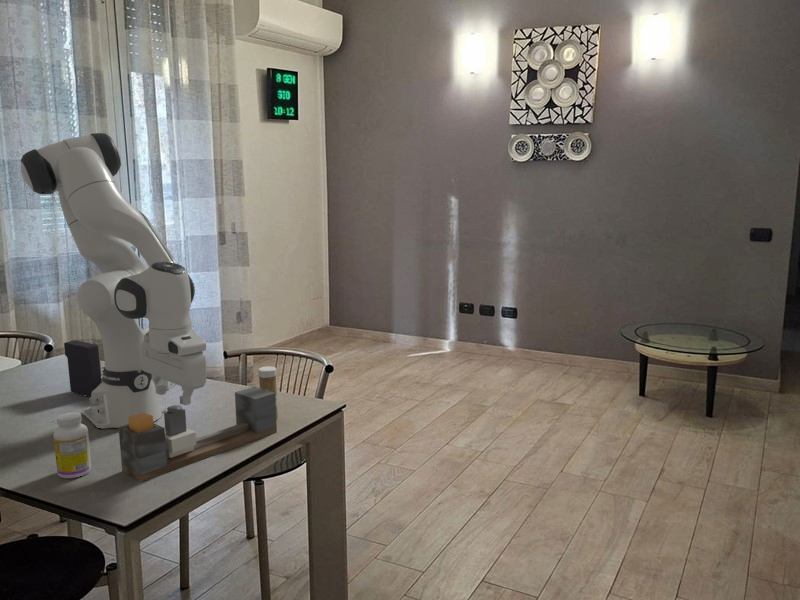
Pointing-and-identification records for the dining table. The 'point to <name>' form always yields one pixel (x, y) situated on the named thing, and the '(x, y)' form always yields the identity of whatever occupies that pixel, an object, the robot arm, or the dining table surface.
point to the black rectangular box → (83, 366)
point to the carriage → (177, 432)
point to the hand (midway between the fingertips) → (173, 398)
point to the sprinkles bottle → (268, 381)
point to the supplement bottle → (71, 446)
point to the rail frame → (148, 447)
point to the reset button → (140, 422)
